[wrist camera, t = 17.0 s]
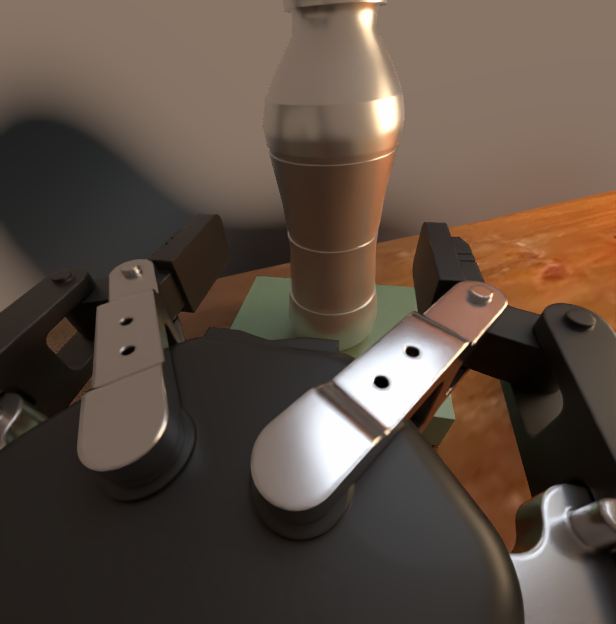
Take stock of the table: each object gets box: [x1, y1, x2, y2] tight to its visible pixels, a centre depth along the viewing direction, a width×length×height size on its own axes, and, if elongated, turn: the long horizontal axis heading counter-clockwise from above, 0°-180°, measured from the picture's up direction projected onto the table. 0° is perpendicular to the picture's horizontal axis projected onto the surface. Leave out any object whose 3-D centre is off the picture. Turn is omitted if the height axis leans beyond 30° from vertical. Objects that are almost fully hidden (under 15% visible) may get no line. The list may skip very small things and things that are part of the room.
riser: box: [230, 276, 455, 446], centre depth 25 cm, size 17×13×4 cm
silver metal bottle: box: [263, 0, 405, 351], centre depth 17 cm, size 6×7×20 cm
